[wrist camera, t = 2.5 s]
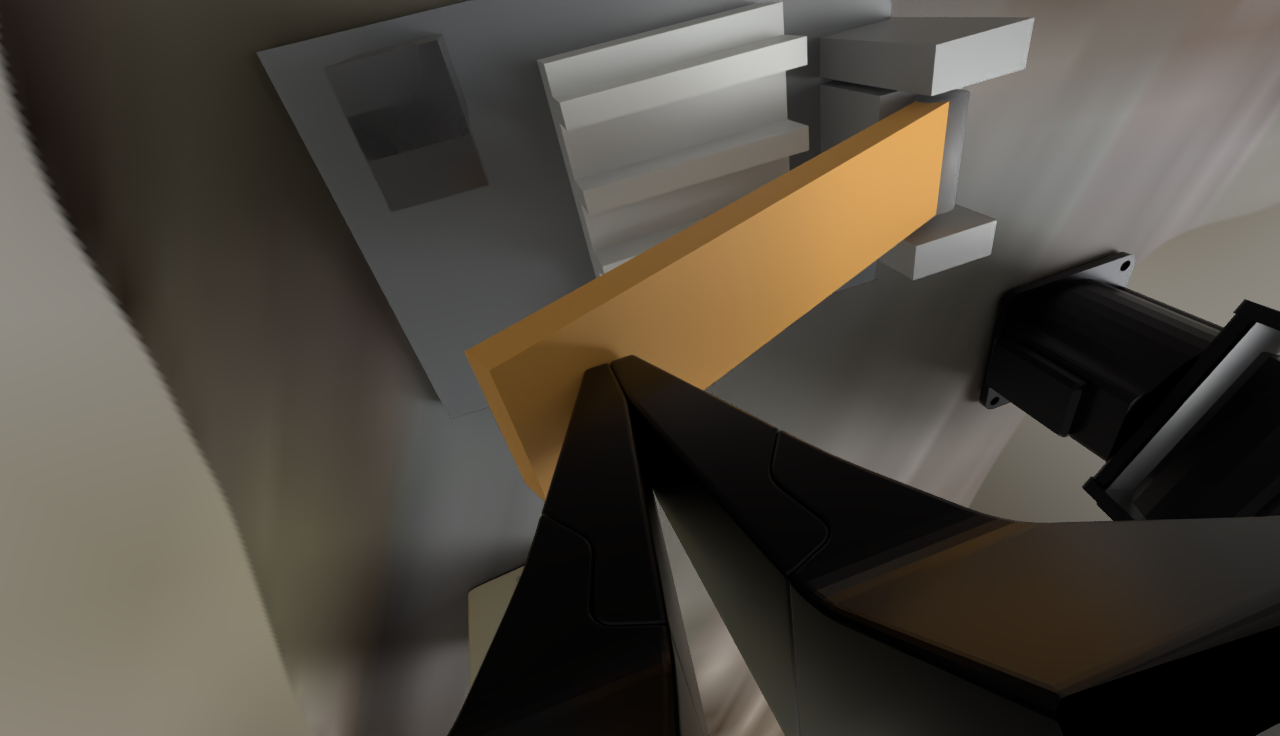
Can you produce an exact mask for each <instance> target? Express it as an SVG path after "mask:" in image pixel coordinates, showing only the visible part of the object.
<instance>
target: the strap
mask: <svg viewBox="0 0 1280 736" xmlns="http://www.w3.org/2000/svg"><path fill="white" fill-rule="evenodd" d="M969 96H970V92H969V91H967V90H963V89H954V90H951V91H947V92H944V93H940V94H937V95H934V96H927V95H921V94H920V95H918V96H916V97H915V98H914V102H913V103H911V104H910V105H908V106H906V107H904V108H902V109H901V110H899V111H897V112H895V113H893V114H892V115H890V116H888V117H886V118H884V119H883V120H881V121H879V122H877V123H875V124H874V125H872V126H870V127H868V128H866V129H865V130H863V131H861V132H859V133H857V134H856V135H854V136H852V137H850V138H848V139H847V140H845V141H843V142H841V143H839V144H838V145H836V146H834V147H832V148H830V149H828V150H827V151H825V152H823V153H821V154H819V155H818V156H816V157H814V158H812V159H810V160H809V161H807V162H805V163H803V164H801V165H800V166H798V167H796V168H794V169H792V170H791V171H789V172H787V173H785V174H783V175H782V176H780V177H778V178H776V179H774V180H773V181H771V182H769V183H767V184H765V185H764V186H762V187H760V188H758V189H756V190H755V191H753V192H751V193H749V194H747V195H746V196H744V197H742V198H740V199H738V200H737V201H735V202H733V203H731V204H729V205H728V206H726V207H724V208H722V209H720V210H719V211H717V212H715V213H713V214H711V215H710V216H708V217H706V218H704V219H702V220H701V221H699V222H697V223H695V224H693V225H691V226H690V227H688V228H686V229H684V230H682V231H681V232H679V233H677V234H675V235H673V236H672V237H670V238H668V239H666V240H664V241H663V242H661V243H659V244H657V245H655V246H654V247H652V248H650V249H648V250H646V251H645V252H643V253H641V254H639V255H637V256H636V257H634V258H632V259H630V260H628V261H627V262H625V263H623V264H621V265H619V266H618V267H616V268H614V269H612V270H610V271H609V272H607V273H605V274H603V275H601V276H600V277H598V278H596V279H594V280H592V281H591V282H589V283H587V284H585V285H583V286H582V287H580V288H578V289H576V290H574V291H573V292H571V293H569V294H567V295H565V296H564V297H562V298H560V299H558V300H556V301H555V302H553V303H551V304H549V305H547V306H545V307H544V308H542V309H540V310H538V311H536V312H535V313H533V314H531V315H529V316H527V317H526V318H524V319H522V320H520V321H518V322H517V323H515V324H513V325H511V326H509V327H508V328H506V329H504V330H502V331H500V332H499V333H497V334H495V335H493V336H491V337H490V338H488V339H486V340H484V341H482V342H481V343H479V344H477V345H475V346H473V347H472V348H470V349H468V350H466V351H464V353H465V355H466V357H467V359H468V361H469V363H470V366H471V368H472V370H473V372H474V374H475V376H476V378H477V381H478V383H479V385H480V387H481V389H482V391H483V393H484V396H485V398H486V400H487V402H488V404H489V406H490V409H491V411H492V413H493V415H494V417H495V419H496V421H497V424H498V426H499V428H500V430H501V432H502V434H503V436H504V439H505V441H506V443H507V445H508V447H509V449H510V451H511V454H512V456H513V458H514V460H515V462H516V464H517V466H518V469H519V471H520V473H521V475H522V477H523V479H524V481H525V483H526V484H527V485H528V486H529V487H530V488H531V489H532V490H533V491H534V492H535V493H536V494H537V495H538V496H539V497H540V498H541V499H542V500H543V501H544V502H545V500H546V497H547V494H548V490H549V487H550V484H551V480H552V477H553V474H554V471H555V467H556V464H557V461H558V457H559V454H560V451H561V447H562V444H563V441H564V437H565V434H566V431H567V428H568V424H569V421H570V418H571V414H572V411H573V408H574V404H575V401H576V398H577V394H578V391H579V388H580V385H581V381H582V378H583V375H584V372H585V371H586V370H587V369H589V368H592V367H595V366H598V365H601V364H604V363H608V364H610V363H611V362H612V361H613V360H616V359H619V358H622V357H625V356H628V355H635V356H637V357H639V358H641V359H643V360H645V361H647V362H649V363H651V364H653V365H655V366H657V367H658V368H660V369H662V370H664V371H666V372H668V373H670V374H672V375H674V376H676V377H678V378H680V379H682V380H684V381H686V382H688V383H690V384H692V385H694V386H696V387H698V388H700V389H702V390H705V389H706V388H708V387H709V386H710V385H711V384H713V383H714V382H715V381H717V380H718V379H719V378H721V377H722V376H723V375H725V374H726V373H727V372H729V371H730V370H731V369H733V368H734V367H735V366H737V365H738V364H739V363H741V362H742V361H743V360H745V359H746V358H747V357H749V356H750V355H751V354H753V353H754V352H755V351H756V350H758V349H759V348H760V347H762V346H763V345H764V344H766V343H767V342H768V341H770V340H771V339H772V338H774V337H775V336H776V335H778V334H779V333H780V332H782V331H783V330H784V329H786V328H787V327H788V326H790V325H791V324H792V323H794V322H795V321H796V320H798V319H799V318H800V317H801V316H803V315H804V314H805V313H807V312H808V311H809V310H811V309H812V308H813V307H815V306H816V305H817V304H819V303H820V302H821V301H823V300H824V299H825V298H827V297H828V296H829V295H831V294H832V293H833V292H835V291H836V290H837V289H839V288H840V287H841V286H842V285H844V284H845V283H846V282H848V281H849V280H850V279H852V278H853V277H854V276H856V275H857V274H858V273H860V272H861V271H862V270H864V269H865V268H866V267H868V266H869V265H870V264H872V263H873V262H874V261H876V260H877V259H878V258H880V257H881V256H882V255H884V254H885V253H886V252H887V251H889V250H890V249H891V248H893V247H894V246H895V245H897V244H898V243H899V242H901V241H902V240H903V239H905V238H906V237H907V236H909V235H910V234H911V233H913V232H914V231H915V230H917V229H918V228H919V227H921V226H922V225H923V224H925V223H926V222H927V221H929V220H930V219H931V218H932V217H934V216H935V215H938V214H943V213H946V212H949V211H951V210H952V209H953V208H954V206H955V199H956V192H957V184H958V177H959V170H960V162H961V155H962V148H963V140H964V133H965V125H966V118H967V111H968V103H969Z"/></svg>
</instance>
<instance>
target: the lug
mask: <svg viewBox="0 0 1280 736" xmlns="http://www.w3.org/2000/svg"><path fill="white" fill-rule="evenodd" d="M323 70H324V72H325V74H326V76H327V78H328V80H329V82H330V84H331V87H332V89H333V91H334V93H335V95H336V97H337V99H338V101H339V103H340V106H341V108H342V110H343V112H344V114H345V116H346V118H347V120H348V122H349V125H350V127H351V129H352V131H353V133H354V135H355V137H356V139H357V141H358V143H359V146H360V148H361V150H362V152H363V154H364V156H365V158H366V160H367V162H368V165H369V167H370V169H371V171H372V173H373V175H374V177H375V179H376V181H377V183H378V186H379V188H380V190H381V192H382V194H383V196H384V198H385V200H386V202H387V205H388V207H389V209H390V211H391V213H392V212H395V211H399V210H402V209H406V208H409V207H413V206H417V205H420V204H424V203H427V202H431V201H434V200H438V199H441V198H445V197H448V196H452V195H455V194H459V193H462V192H466V191H469V190H473V189H477V188H480V187H484V186H487V185H489V183H488V178H487V174H486V172H485V169H484V166H483V163H482V160H481V158H480V155H479V152H478V149H477V146H476V144H475V141H474V138H473V135H472V132H471V130H470V124H469V115H468V106H467V104H466V101H465V98H464V95H463V92H462V89H461V86H460V84H459V81H458V78H457V75H456V72H455V69H454V67H453V64H452V61H451V58H450V55H449V52H448V49H447V47H446V44H445V41H444V38H443V35H442V34H440V35H436V36H432V37H428V38H424V39H420V40H416V41H412V42H408V43H404V44H400V45H396V46H392V47H388V48H384V49H380V50H376V51H372V52H368V53H364V54H360V55H356V56H354V57H351V58H349V59H346V60H343V61H341V62H338V63H336V64H333V65H331V66H328V67H325V68H323Z"/></svg>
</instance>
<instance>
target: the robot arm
mask: <svg viewBox="0 0 1280 736" xmlns="http://www.w3.org/2000/svg"><path fill="white" fill-rule="evenodd" d="M1134 264H1135V256H1133V255H1131V254H1128V253H1125V252H1119V253H1116V254H1113V255H1111V256H1108V257H1105V258H1102V259H1099V260H1096V261H1093V262H1090V263H1087V264H1084V265H1081V266H1078V267H1076V268H1073V269H1070V270H1067V271H1064V272H1061V273H1058V274H1055V275H1052V276H1049V277H1046V278H1043V279H1041V280H1038V281H1035V282H1032V283H1029V284H1026V285H1023V286H1020V287H1017V288H1014V289H1011V290H1010V291H1008V292H1007V293H1005V294H1004V295H1003V297H1002V298H1001V300H1000V303H999V308H998V313H997V317H996V322H995V327H994V332H993V337H992V342H991V347H990V351H989V356H988V361H987V366H986V371H985V376H984V381H983V385H982V390H981V395H980V403H981V404H982V405H983V406H984V407H986V408H987V409H994V408H997V407H999V406H1002V405H1005V404H1007V403H1010V402H1011V403H1013V404H1014V405H1016V406H1017V407H1018V408H1020V409H1021V410H1023V411H1024V412H1026V413H1027V414H1029V415H1030V416H1031V417H1033V418H1034V419H1036V420H1037V421H1039V422H1040V423H1041V424H1043V425H1044V426H1046V427H1047V428H1049V429H1050V430H1051V431H1053V432H1054V433H1056V434H1057V435H1059V436H1061V437H1067V436H1070V437H1071V438H1073V439H1074V440H1076V441H1077V442H1078V443H1080V444H1081V445H1083V446H1084V447H1086V448H1087V449H1089V450H1090V451H1092V452H1093V453H1095V454H1096V455H1097V456H1099V457H1100V458H1102V459H1103V460H1105V461H1106V464H1105V465H1104V466H1103V467H1102V468H1101V469H1100V470H1099V472H1098V473H1097V474H1096V475H1095V476H1094V477H1090V478H1089V479H1088V480H1087V481H1086V482H1085V484H1084V485H1083V486H1082V488H1083V489H1084V490H1085V491H1086V492H1087V493H1088V494H1089V495H1090V496H1091V497H1092V498H1093V499H1094V500H1095V501H1096V502H1097V505H1098V506H1099V507H1100V508H1101V509H1102V510H1103V511H1104V512H1105V513H1106V514H1107V515H1108V516H1109V517H1110V518H1111V519H1112V520H1113V521H1098V522H1097V521H1095V522H1061V523H1033V522H1021V521H1015V520H1009V519H1004V518H999V517H995V516H991V515H987V514H984V513H980V512H977V511H975V510H972V509H969V508H966V507H963V506H961V505H958V504H956V503H953V502H950V501H948V500H945V499H943V498H940V497H937V496H935V495H932V494H930V493H927V492H924V491H922V490H919V489H917V488H914V487H912V486H909V485H906V484H904V483H901V482H899V481H896V480H893V479H891V478H888V477H886V476H883V475H880V474H878V473H875V472H873V471H870V470H868V469H865V468H863V467H860V466H858V465H856V464H853V463H851V462H848V461H846V460H843V459H841V458H839V457H836V456H834V455H832V454H829V453H827V452H825V451H823V450H821V449H819V448H817V447H815V446H813V445H810V444H808V443H806V442H804V441H802V440H800V439H798V438H796V437H794V436H792V435H790V434H788V433H786V432H784V431H782V430H781V431H779V430H778V429H777V428H776V427H774V426H772V425H770V424H768V423H766V422H764V421H762V420H760V419H758V418H756V417H755V416H753V415H751V414H749V413H747V412H745V411H743V410H741V409H739V408H737V407H735V406H733V405H731V404H729V403H727V402H725V401H723V400H721V399H719V398H717V397H715V396H713V395H711V394H709V393H707V392H706V391H704V390H702V389H700V388H698V387H696V386H694V385H692V384H690V383H688V382H686V381H684V380H682V379H680V378H678V377H676V376H674V375H672V374H670V373H668V372H666V371H664V370H662V369H660V368H658V367H657V366H655V365H653V364H651V363H649V362H647V361H645V360H643V359H641V358H639V357H637V356H635V355H628V356H625V357H622V358H619V359H616V360H613V361H612V362H611V363H610V364H608V363H604V364H601V365H598V366H595V367H592V368H589V369H587V370H586V371H585V372H584V375H583V378H582V381H581V385H580V388H579V391H578V394H577V398H576V401H575V404H574V408H573V411H572V414H571V418H570V421H569V424H568V428H567V431H566V434H565V437H564V441H563V444H562V447H561V451H560V454H559V457H558V461H557V464H556V467H555V471H554V474H553V477H552V480H551V484H550V487H549V490H548V494H547V497H546V500H545V504H544V507H543V510H542V516H541V517H540V519H539V523H538V526H537V529H536V533H535V536H534V539H533V542H532V545H531V548H530V551H529V554H528V557H527V560H526V563H525V565H524V568H523V571H522V574H521V576H520V578H519V581H518V583H517V585H516V588H515V590H514V593H513V595H512V597H511V600H510V602H509V604H508V607H507V609H506V611H505V613H504V616H503V618H502V620H501V622H500V625H499V627H498V629H497V631H496V633H495V636H494V638H493V640H492V642H491V645H490V647H489V649H488V651H487V653H486V656H485V658H484V660H483V662H482V664H481V667H480V669H479V671H478V673H477V676H476V678H475V680H474V682H473V684H472V687H471V689H470V691H469V693H468V696H467V698H466V700H465V702H464V704H463V706H462V709H461V711H460V713H459V715H458V717H457V719H456V721H455V723H454V724H453V726H452V728H451V730H450V731H449V733H448V735H447V736H709V733H708V728H707V724H706V720H705V715H704V711H703V707H702V702H701V698H700V694H699V689H698V685H697V680H696V676H695V672H694V667H693V663H692V659H691V654H690V650H689V646H688V641H687V637H686V632H685V628H684V624H683V619H682V615H681V611H680V606H679V602H678V598H677V593H676V589H675V585H674V580H673V576H672V571H671V567H670V563H669V558H668V554H667V550H666V545H665V541H664V537H663V532H662V528H661V523H660V519H659V515H658V510H657V506H656V502H655V498H654V494H653V491H654V493H655V495H656V497H657V499H658V501H659V503H660V505H661V507H662V509H663V510H664V512H665V514H666V516H667V518H668V520H669V522H670V523H671V525H672V527H673V529H674V531H675V533H676V535H677V536H678V538H679V540H680V542H681V544H682V546H683V547H684V549H685V551H686V553H687V555H688V557H689V559H690V560H691V562H692V564H693V566H694V568H695V570H696V572H697V573H698V575H699V577H700V579H701V581H702V583H703V584H704V586H705V588H706V590H707V592H708V594H709V596H710V597H711V599H712V601H713V603H714V605H715V607H716V609H717V610H718V612H719V614H720V616H721V618H722V620H723V621H724V623H725V625H726V627H727V629H728V631H729V633H730V634H731V636H732V638H733V640H734V642H735V644H736V646H737V647H738V649H739V651H740V653H741V655H742V657H743V658H744V660H745V662H746V664H747V666H748V668H749V670H750V671H751V673H752V675H753V677H754V679H755V681H756V683H757V684H758V686H759V688H760V690H761V692H762V694H763V695H764V697H765V699H766V701H767V703H768V705H769V707H770V708H771V710H772V712H773V714H774V716H775V718H776V720H777V721H778V723H779V725H780V727H781V729H782V731H783V732H784V734H785V736H1280V311H1278V310H1275V309H1271V308H1269V307H1266V306H1263V305H1260V304H1257V303H1254V302H1251V301H1249V300H1246V299H1244V300H1243V302H1242V303H1241V304H1240V305H1239V306H1238V307H1237V309H1236V310H1235V311H1234V312H1233V313H1235V316H1234V317H1233V318H1232V319H1231V320H1230V321H1229V323H1228V324H1227V325H1226V326H1225V327H1221V326H1219V325H1216V324H1214V323H1211V322H1209V321H1206V320H1204V319H1201V318H1199V317H1196V316H1194V315H1192V314H1189V313H1187V312H1184V311H1182V310H1179V309H1176V308H1174V307H1172V306H1169V305H1167V304H1165V303H1162V302H1159V301H1157V300H1155V299H1152V298H1150V297H1147V296H1145V295H1142V294H1140V293H1138V292H1135V291H1132V290H1130V289H1128V288H1126V286H1127V283H1128V280H1129V278H1130V275H1131V272H1132V269H1133V266H1134ZM652 489H653V490H652Z"/></svg>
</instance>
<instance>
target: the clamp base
mask: <svg viewBox="0 0 1280 736" xmlns="http://www.w3.org/2000/svg"><path fill="white" fill-rule="evenodd" d="M890 15H891V0H469V1H465V2H461V3H457V4H452V5H448V6H444V7H440V8H436V9H432V10H428V11H424V12H420V13H416V14H411V15H407V16H403V17H399V18H395V19H391V20H387V21H383V22H379V23H375V24H370V25H366V26H362V27H358V28H354V29H350V30H346V31H342V32H338V33H334V34H329V35H325V36H321V37H317V38H313V39H309V40H305V41H301V42H297V43H293V44H288V45H284V46H280V47H276V48H272V49H268V50H264V51H260V52H256V53H257V55H258V57H259V59H260V61H261V63H262V65H263V66H264V68H265V70H266V72H267V74H268V76H269V78H270V80H271V81H272V83H273V85H274V87H275V89H276V91H277V93H278V95H279V97H280V98H281V100H282V102H283V104H284V106H285V108H286V110H287V112H288V114H289V115H290V117H291V119H292V121H293V123H294V125H295V127H296V129H297V131H298V132H299V134H300V136H301V138H302V140H303V142H304V144H305V146H306V148H307V149H308V151H309V153H310V155H311V157H312V159H313V161H314V163H315V165H316V166H317V168H318V170H319V172H320V174H321V176H322V178H323V180H324V182H325V183H326V185H327V187H328V189H329V191H330V193H331V195H332V197H333V199H334V200H335V202H336V204H337V206H338V208H339V210H340V212H341V214H342V216H343V217H344V219H345V221H346V223H347V225H348V227H349V229H350V231H351V233H352V234H353V236H354V238H355V240H356V242H357V244H358V246H359V248H360V250H361V251H362V253H363V255H364V257H365V259H366V261H367V263H368V265H369V267H370V268H371V270H372V272H373V274H374V276H375V278H376V280H377V282H378V283H379V285H380V287H381V289H382V291H383V293H384V295H385V297H386V299H387V300H388V302H389V304H390V306H391V308H392V310H393V312H394V314H395V316H396V317H397V319H398V321H399V323H400V325H401V327H402V329H403V331H404V333H405V334H406V336H407V338H408V340H409V342H410V344H411V346H412V348H413V350H414V351H415V353H416V355H417V357H418V359H419V361H420V363H421V365H422V367H423V368H424V370H425V372H426V374H427V376H428V378H429V380H430V382H431V384H432V385H433V387H434V389H435V391H436V393H437V395H438V397H439V399H440V401H441V402H442V404H443V406H444V408H445V410H446V412H447V414H448V416H449V418H450V419H454V418H457V417H460V416H463V415H466V414H469V413H472V412H475V411H478V410H481V409H484V408H487V407H490V406H489V404H488V402H487V400H486V398H485V396H484V393H483V391H482V389H481V387H480V385H479V383H478V381H477V378H476V376H475V374H474V372H473V370H472V368H471V366H470V363H469V361H468V359H467V357H466V355H465V353H464V351H466V350H468V349H470V348H472V347H473V346H475V345H477V344H479V343H481V342H482V341H484V340H486V339H488V338H490V337H491V336H493V335H495V334H497V333H499V332H500V331H502V330H504V329H506V328H508V327H509V326H511V325H513V324H515V323H517V322H518V321H520V320H522V319H524V318H526V317H527V316H529V315H531V314H533V313H535V312H536V311H538V310H540V309H542V308H544V307H545V306H547V305H549V304H551V303H553V302H555V301H556V300H558V299H560V298H562V297H564V296H565V295H567V294H569V293H571V292H573V291H574V290H576V289H578V288H580V287H582V286H583V285H585V284H587V283H589V282H591V281H592V280H594V279H596V278H598V277H600V276H601V275H603V274H605V273H607V272H609V271H610V270H612V269H614V268H616V267H618V266H619V265H621V264H623V263H625V262H627V261H628V260H630V259H632V258H634V257H636V256H637V255H639V254H641V253H643V252H645V251H646V250H648V249H650V248H652V247H654V246H655V245H657V244H659V243H661V242H663V241H664V240H666V239H668V238H670V237H672V236H673V235H675V234H677V233H679V232H681V231H682V230H684V229H686V228H688V227H690V226H691V225H693V224H695V223H697V222H699V221H701V220H702V219H704V218H706V217H708V216H710V215H711V214H713V213H715V212H717V211H719V210H720V209H722V208H724V207H726V206H728V205H729V204H731V203H733V202H735V201H737V200H738V199H740V198H742V197H744V196H746V195H747V194H749V193H751V192H753V191H755V190H756V189H758V188H760V187H762V186H764V185H765V184H767V183H769V182H771V181H773V180H774V179H776V178H778V177H780V176H782V175H783V174H785V173H787V172H789V171H791V170H792V169H794V168H796V167H798V166H800V165H801V164H803V163H805V162H807V161H809V160H810V159H812V158H814V157H816V156H818V155H819V154H821V153H823V152H825V151H827V150H828V149H830V148H832V147H834V146H836V145H838V144H839V143H841V142H843V141H845V140H847V139H848V138H850V137H852V136H854V135H856V134H857V133H859V132H861V131H863V130H865V129H866V128H868V127H870V126H872V125H874V124H875V123H877V122H879V121H881V120H883V119H884V118H886V117H888V116H890V115H892V114H893V113H895V112H897V111H899V110H901V109H902V108H904V107H906V106H908V105H910V104H911V103H913V102H914V98H915V97H916V96H918V95H920V94H921V95H927V96H934V95H937V94H940V93H944V92H947V91H951V90H954V89H962V87H964V86H968V85H971V84H975V83H978V82H982V81H985V80H988V79H992V78H995V77H999V76H1002V75H1006V74H1009V73H1012V72H1016V71H1019V70H1023V69H1025V66H1026V61H1027V56H1028V50H1029V45H1030V39H1031V34H1032V28H1033V23H1034V18H1035V17H890ZM440 34H442V35H443V38H444V41H445V44H446V47H447V49H448V52H449V55H450V58H451V61H452V64H453V67H454V69H455V72H456V75H457V78H458V81H459V84H460V86H461V89H462V92H463V95H464V98H465V101H466V104H467V106H468V115H469V124H470V130H471V132H472V135H473V138H474V141H475V144H476V146H477V149H478V152H479V155H480V158H481V160H482V163H483V166H484V169H485V172H486V174H487V178H488V183H489V185H487V186H484V187H480V188H477V189H473V190H469V191H466V192H462V193H459V194H455V195H452V196H448V197H445V198H441V199H438V200H434V201H431V202H427V203H424V204H420V205H417V206H413V207H409V208H406V209H402V210H399V211H395V212H392V213H391V211H390V209H389V207H388V205H387V202H386V200H385V198H384V196H383V194H382V192H381V190H380V188H379V186H378V183H377V181H376V179H375V177H374V175H373V173H372V171H371V169H370V167H369V165H368V162H367V160H366V158H365V156H364V154H363V152H362V150H361V148H360V146H359V143H358V141H357V139H356V137H355V135H354V133H353V131H352V129H351V127H350V125H349V122H348V120H347V118H346V116H345V114H344V112H343V110H342V108H341V106H340V103H339V101H338V99H337V97H336V95H335V93H334V91H333V89H332V87H331V84H330V82H329V80H328V78H327V76H326V74H325V72H324V70H323V68H325V67H328V66H331V65H333V64H336V63H338V62H341V61H343V60H346V59H349V58H351V57H354V56H356V55H360V54H364V53H368V52H372V51H376V50H380V49H384V48H388V47H392V46H396V45H400V44H404V43H408V42H412V41H416V40H420V39H424V38H428V37H432V36H436V35H440ZM996 223H997V220H996V219H993V218H990V217H988V216H985V215H983V214H980V213H977V212H975V211H972V210H969V209H967V208H964V207H961V206H959V205H956V204H955V206H954V208H953V209H952V210H951V211H949V212H946V213H943V214H938V215H935V216H934V217H932V218H931V219H930V220H929V221H927V222H926V223H925V224H923V225H922V226H921V227H919V228H918V229H917V230H915V231H914V232H913V233H911V234H910V235H909V236H907V237H906V238H905V239H903V240H902V241H901V242H899V243H898V244H897V245H895V246H894V247H893V248H891V249H890V250H889V251H887V252H886V253H885V254H884V255H882V256H881V257H880V258H878V259H877V260H878V261H880V262H882V263H884V264H885V265H887V266H889V267H890V268H892V269H894V270H896V271H897V272H899V273H901V274H902V275H904V276H906V277H908V278H909V279H911V280H916V279H919V278H922V277H925V276H928V275H931V274H934V273H937V272H940V271H943V270H946V269H949V268H952V267H955V266H958V265H961V264H964V263H967V262H970V261H973V260H976V259H979V258H982V257H985V256H988V255H991V251H992V245H993V240H994V234H995V229H996ZM877 260H876V261H874V262H873V263H872V264H870V265H869V266H868V267H866V268H865V269H864V270H862V271H861V272H860V273H858V274H857V275H856V276H854V277H853V278H852V279H850V280H849V281H848V282H846V283H845V284H844V285H842V286H841V287H840V288H839V289H837V290H836V291H835V292H833V293H836V292H839V291H842V290H845V289H848V288H851V287H854V286H857V285H860V284H863V283H866V282H869V281H872V280H875V279H876V268H877ZM833 293H832V294H833Z"/></svg>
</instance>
